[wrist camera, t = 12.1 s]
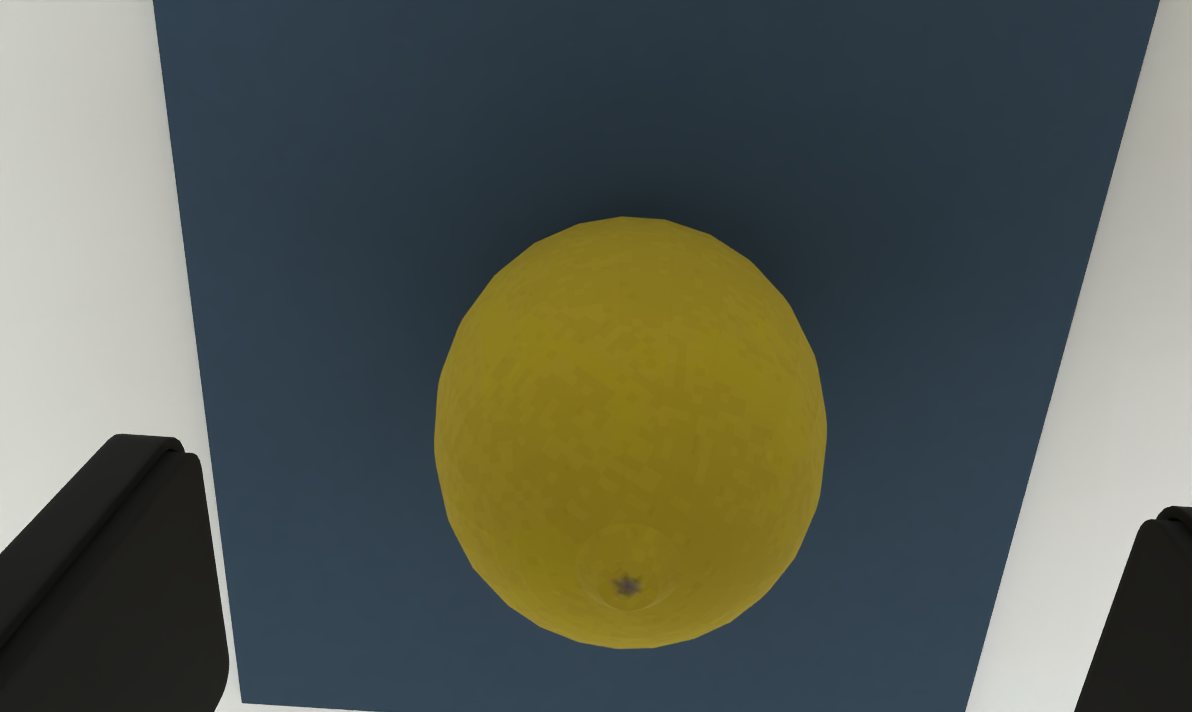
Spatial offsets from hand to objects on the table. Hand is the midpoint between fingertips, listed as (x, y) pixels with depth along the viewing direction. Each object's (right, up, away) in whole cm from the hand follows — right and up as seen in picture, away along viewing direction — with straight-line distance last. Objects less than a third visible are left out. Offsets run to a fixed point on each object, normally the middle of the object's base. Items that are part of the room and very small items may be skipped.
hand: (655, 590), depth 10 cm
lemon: (0, +3, +8) cm, 9 cm away
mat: (0, +3, +8) cm, 9 cm away
